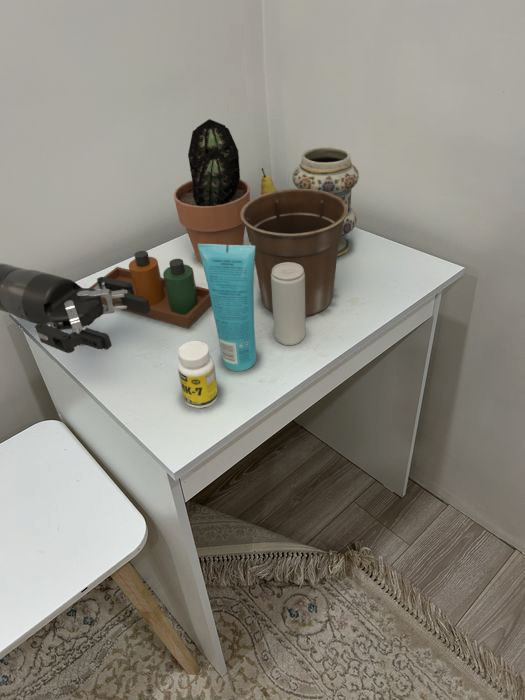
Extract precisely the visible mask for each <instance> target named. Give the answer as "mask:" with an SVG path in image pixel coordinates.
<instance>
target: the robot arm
mask: <svg viewBox="0 0 525 700" xmlns="http://www.w3.org/2000/svg"><path fill="white" fill-rule="evenodd" d="M96 282H98V285H97V286H95V287H94V288H90V287H82V286H80V285H79V284H78V283H76V282H75V281H74V280H72V279H70V278H65V277H62V276H59V275H55V274H51V273H47V272H44V271H40V270H37V269H27V268H22V267H19V266H16V265H12V264H7V263H3V262H0V311H2V312H4V313H8V314H11V315H13V316H15V317H17V318H18V319H20V320H22V321H26V322H30V323H33V324H35V325H34V329H35V332H36V334H37V337H38V338H39V339H38V340H39V342H40V343H42V344H45V345H46V346H50V348H51V347H52V348H54V349H57V350H59V351H61V352H64V353H66V354H71V353H73V352H75V348H77V347H85V346H86V347H90V348H93V349H96V350H106V351H108V350H109V349H111V347H113V345H112V341H111V337H110V336H109V335H108V334H107V333H105V332H102V331H99V330H96V329H92V328H89V327H90V326H91V325H92V324H93V323H94V322H95V320H97V319H98V318H101V317H102V316H103V315H109V314H110V315H111V314H114V313H115V312H116V311H117V310H120V309H125V308H127V309H128V310H132V311H135V312H139V313H142V314H148V313H149V312H150V306H149V302H148V300H147V299H146V298H144V297H141V296H137V295H134V291H133V287H132V283H130V282H125V281H120V280H116V279H111V278H106V277H104V276H100V277H98V278H97V279H96ZM122 289H123V290H122ZM100 297H104V298H105V299H106V301H107V304H108V306H106V305H105V306H104V305H103V304H102V301H101V299H100ZM113 298H119V299H121V301H122V302H114V301H113ZM87 326H88V327H87ZM84 327H85V328H84ZM71 329H72V332H70V333H68V332H66V331H65V330H71Z"/></svg>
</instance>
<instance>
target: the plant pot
mask: <svg viewBox="0 0 525 700" xmlns="http://www.w3.org/2000/svg"><path fill="white" fill-rule="evenodd" d="M260 195H261V194H260ZM260 195H258V196H256V197H254V198H252V199H250V201H249V202H248V203H247V204H246V205H245V206H244V207H243V208H242V210H241V219H242V222H243V223H244V225H245V231H246V235H247V240H248V242H249V244H250V246H255V259H254V268H255V272H256V277H257V282H258V287H259V293H260V300H261V302H262V305H263V306H264V307H265V308H266V310H268V311H270V312H271V313H273V302H272V284H271V274H272V269H273V267H274V266H276V265H278V264H280V263H285V262H292V263H297V264H299V265H301V266H302V267H303V269H304V273H305V317H310V316H313V315H315V314H318V313H321V312H322V311H324V310H326V308H328V307H329V306H330V305H331V303H332V301H333V297H334V289H335V281H336V273H337V272H336V271H337V263H338V257H337V255H338V247H339V240H340V238H341V236H342V230H343V222H344V219H345V218H346V216H347V211H348V207H347V205H346V203H345V202H344V201H343V200H342V199H341V198H339V197H337V196H335V195H333V194H331V193H328V192H324V191H320V190H313V189H298V188H287V189H279V190H276V191H274V192H269V193H266V194H263V195H261V196H260Z"/></svg>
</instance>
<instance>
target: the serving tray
mask: <svg viewBox="0 0 525 700" xmlns="http://www.w3.org/2000/svg"><path fill="white" fill-rule="evenodd" d="M103 277H106V278H111V279H116V280H120V281H125V282H130V283H132V287H133V291H134V295H136V294H135V290H134V286H133V282H132V278H131V274H130V270H129V268H123V267H119V266H116V267H114V269H112V270H111V271H109V272H108V273H107V274H106V275H104V276H103ZM161 280H162V285H163V290H164V295H165V297H164V299H163V300H162V301H161V302H159V303H157V304H155V305H149V306H150V312H149V313H148V314H142V313H139V312H135V311H132V310H128V309H127V308H125V309H119V310H120V311H121V310H122V311H124V312H128V313H132V314H134V315H139V316H142V317H145V318H149V319H153V320H157V321H159V322H163V323H167V324H170V325H173V326H178V327H181V328H185V329H187V330H188V329H190V328H191V327H192V326H193V325H194V324H195V323H196V322H197V321H198V320H199V319H200V318H201V317H202V316H203V315H204V314H205V313H206V312H207V311H208V310H209V309H210V308H211V307H212V303H211V298H210V293H209V289H208V288H205V287H201V286H197V285H196V292H197V298H198V304H197V305H196V306H195V307H194V308H193V309H192V310H191V311H190V312H189V313H188V314H185V315H181V314H177V313H174V312H172V311H171V310H170V306H169V301H168V296H167V291H166V286H165V281H164V277H161ZM97 285H98V282H97V281H96V282H95V283H93V284H91V286H89V288H94V287H95V286H97ZM122 290H123V289H122ZM100 299H101V301H102V304H103V306H105V307H106V306H108V304H107V301H106V299H105V298H104V297H100ZM113 301H114V302H122V301H121V299H119V298H113Z"/></svg>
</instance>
